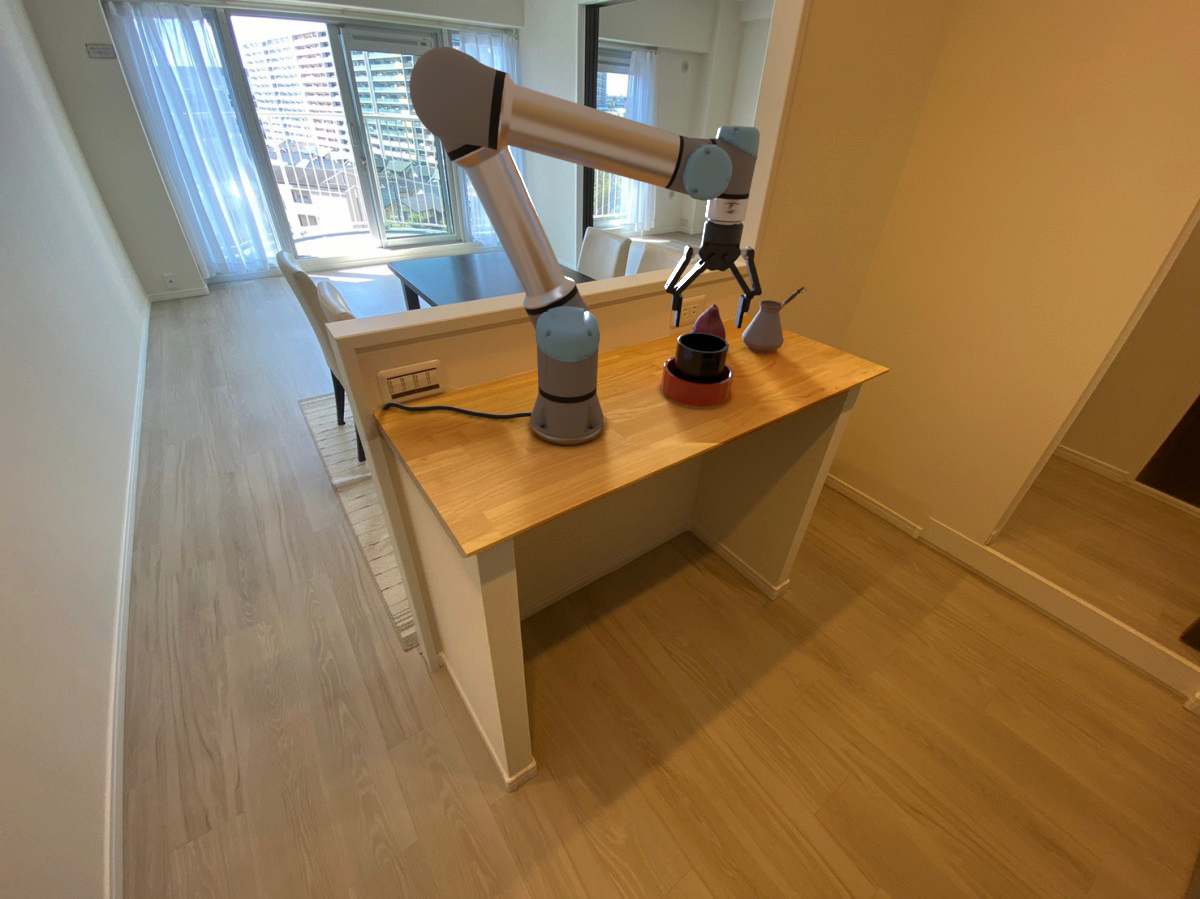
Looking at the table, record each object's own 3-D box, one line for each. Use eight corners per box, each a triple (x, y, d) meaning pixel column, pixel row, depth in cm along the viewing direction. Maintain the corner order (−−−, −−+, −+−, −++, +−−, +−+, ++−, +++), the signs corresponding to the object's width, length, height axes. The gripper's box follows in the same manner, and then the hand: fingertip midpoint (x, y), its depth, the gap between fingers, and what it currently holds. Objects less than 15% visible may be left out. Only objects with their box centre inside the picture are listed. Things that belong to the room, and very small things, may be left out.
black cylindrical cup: (676, 404, 111) (683, 355, 104) (667, 375, 123) (673, 329, 116) (725, 405, 111) (735, 356, 104) (711, 376, 123) (720, 330, 116)
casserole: (666, 408, 110) (669, 384, 107) (657, 375, 123) (660, 353, 120) (736, 409, 111) (741, 386, 108) (719, 377, 124) (724, 355, 121)
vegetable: (719, 366, 136) (737, 322, 125) (683, 357, 137) (698, 312, 125) (723, 343, 143) (740, 299, 131) (688, 335, 144) (702, 290, 132)
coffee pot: (765, 359, 134) (779, 305, 125) (731, 345, 141) (742, 293, 132) (807, 342, 145) (823, 291, 137) (774, 329, 152) (787, 280, 144)
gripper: (663, 222, 92) (652, 330, 104) (794, 227, 93) (767, 333, 105) (658, 215, 98) (648, 317, 110) (781, 219, 99) (757, 320, 111)
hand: (706, 325), depth 108 cm, fingers open, 13 cm apart
